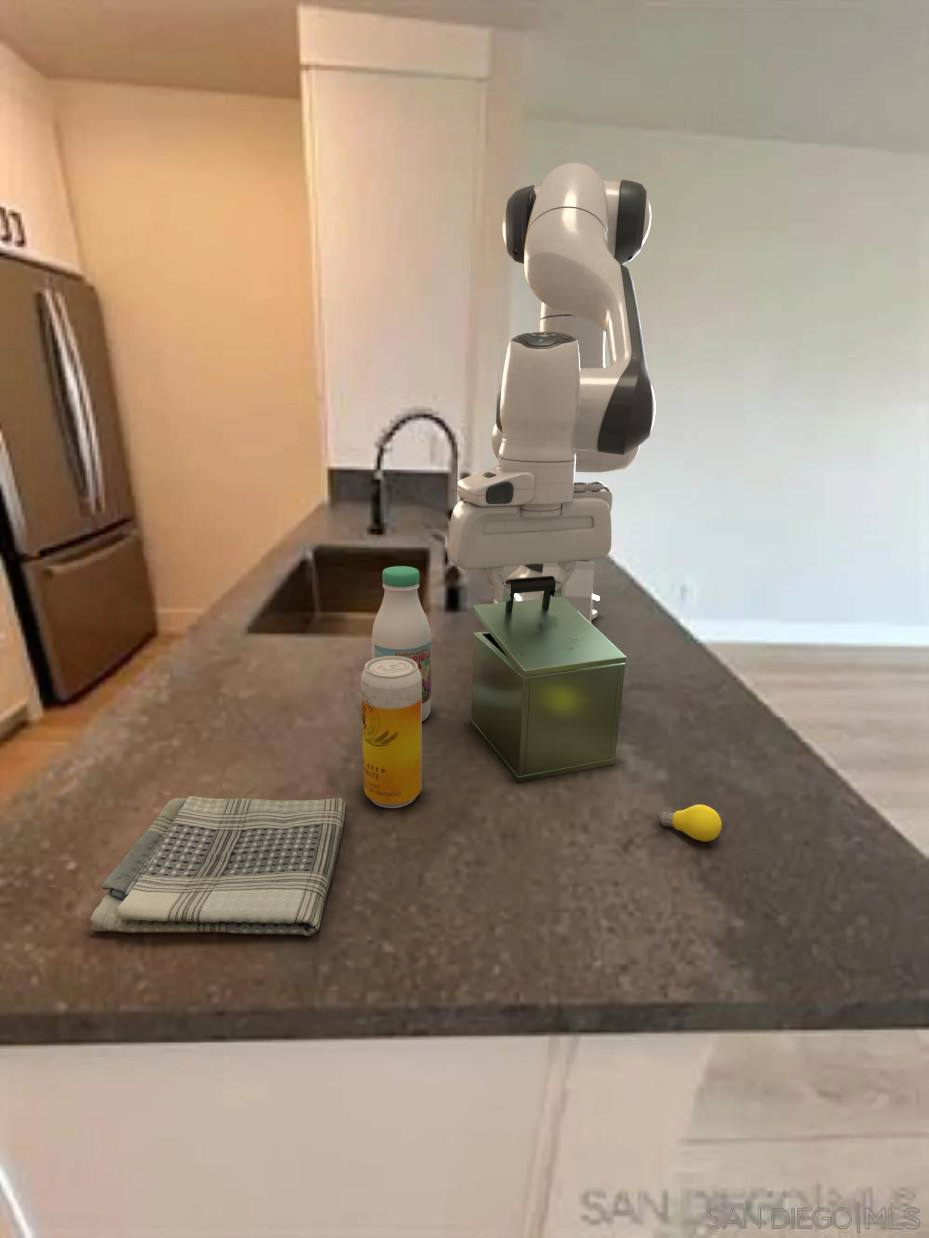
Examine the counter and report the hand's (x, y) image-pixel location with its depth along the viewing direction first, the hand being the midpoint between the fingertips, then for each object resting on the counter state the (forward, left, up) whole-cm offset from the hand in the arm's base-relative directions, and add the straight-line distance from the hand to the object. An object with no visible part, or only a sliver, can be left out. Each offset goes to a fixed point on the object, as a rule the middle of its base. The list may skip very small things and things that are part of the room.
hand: (529, 598), depth 82 cm
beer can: (+10, -20, -18) cm, 28 cm away
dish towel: (+17, -37, -18) cm, 44 cm away
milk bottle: (-8, -14, -18) cm, 24 cm away
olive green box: (+5, 0, -18) cm, 18 cm away
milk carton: (-10, +11, -18) cm, 23 cm away
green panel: (+5, 0, -3) cm, 6 cm away
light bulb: (+26, +6, -18) cm, 32 cm away
